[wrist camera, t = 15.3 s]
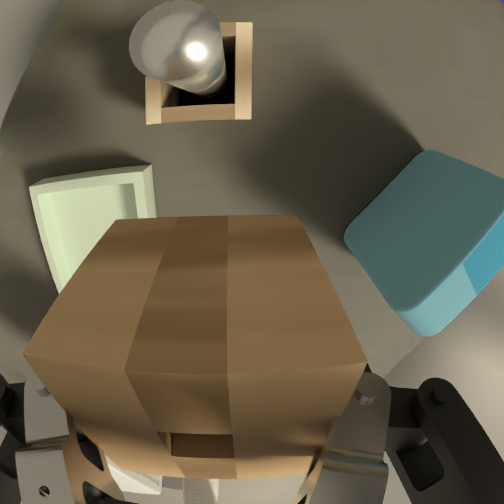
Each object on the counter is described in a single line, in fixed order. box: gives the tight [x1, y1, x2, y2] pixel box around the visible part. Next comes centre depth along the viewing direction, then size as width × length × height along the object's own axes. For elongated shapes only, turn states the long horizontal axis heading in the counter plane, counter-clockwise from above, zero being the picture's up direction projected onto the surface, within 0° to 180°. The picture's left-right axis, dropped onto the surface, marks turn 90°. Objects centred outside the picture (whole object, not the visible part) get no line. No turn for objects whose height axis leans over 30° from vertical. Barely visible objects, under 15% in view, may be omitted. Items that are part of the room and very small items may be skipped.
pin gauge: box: [129, 0, 227, 97], centre depth 13 cm, size 3×3×14 cm
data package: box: [344, 150, 504, 336], centre depth 19 cm, size 12×4×12 cm, turn 138°
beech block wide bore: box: [145, 22, 252, 125], centre depth 16 cm, size 6×6×6 cm
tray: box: [29, 164, 157, 294], centre depth 23 cm, size 13×11×3 cm
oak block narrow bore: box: [23, 215, 368, 479], centre depth 8 cm, size 6×6×6 cm
